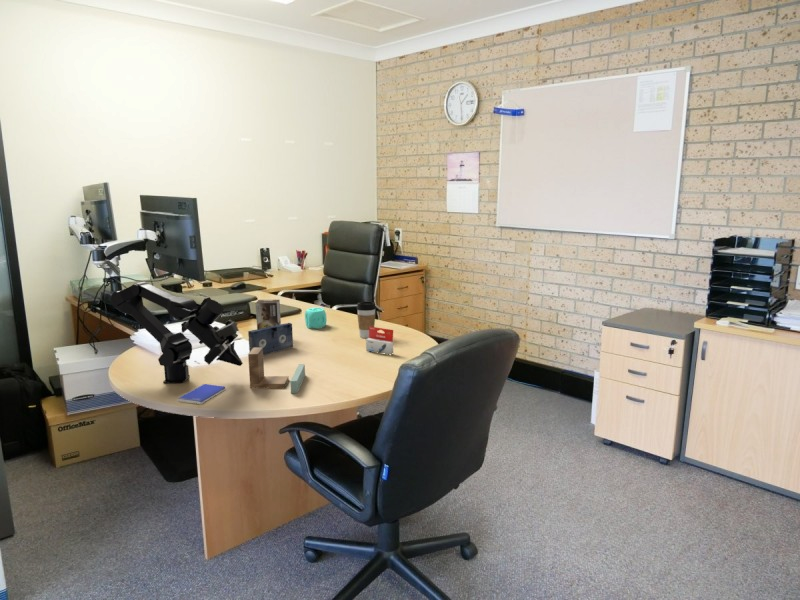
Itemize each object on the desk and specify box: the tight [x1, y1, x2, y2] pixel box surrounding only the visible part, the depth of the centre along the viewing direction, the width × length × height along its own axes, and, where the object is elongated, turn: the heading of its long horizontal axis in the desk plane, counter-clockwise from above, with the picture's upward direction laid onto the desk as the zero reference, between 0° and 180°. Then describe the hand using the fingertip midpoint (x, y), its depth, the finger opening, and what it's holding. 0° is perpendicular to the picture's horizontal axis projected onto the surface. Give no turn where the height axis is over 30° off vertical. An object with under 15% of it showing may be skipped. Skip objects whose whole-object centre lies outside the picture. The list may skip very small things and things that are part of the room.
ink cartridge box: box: [365, 326, 394, 354], centre depth 208 cm, size 2×11×10 cm, turn 62°
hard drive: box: [177, 383, 226, 405], centre depth 166 cm, size 2×8×12 cm
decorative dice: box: [304, 307, 327, 330], centre depth 246 cm, size 8×8×8 cm
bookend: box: [247, 347, 290, 389], centre depth 175 cm, size 11×7×12 cm, turn 91°
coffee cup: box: [356, 301, 377, 339], centre depth 229 cm, size 8×8×15 cm
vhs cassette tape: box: [247, 322, 294, 356], centre depth 209 cm, size 18×3×10 cm, turn 135°
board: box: [289, 363, 306, 394], centre depth 176 cm, size 2×16×4 cm, turn 1°
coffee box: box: [255, 299, 282, 330], centre depth 227 cm, size 9×6×16 cm
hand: (241, 364), depth 174 cm, fingers closed
